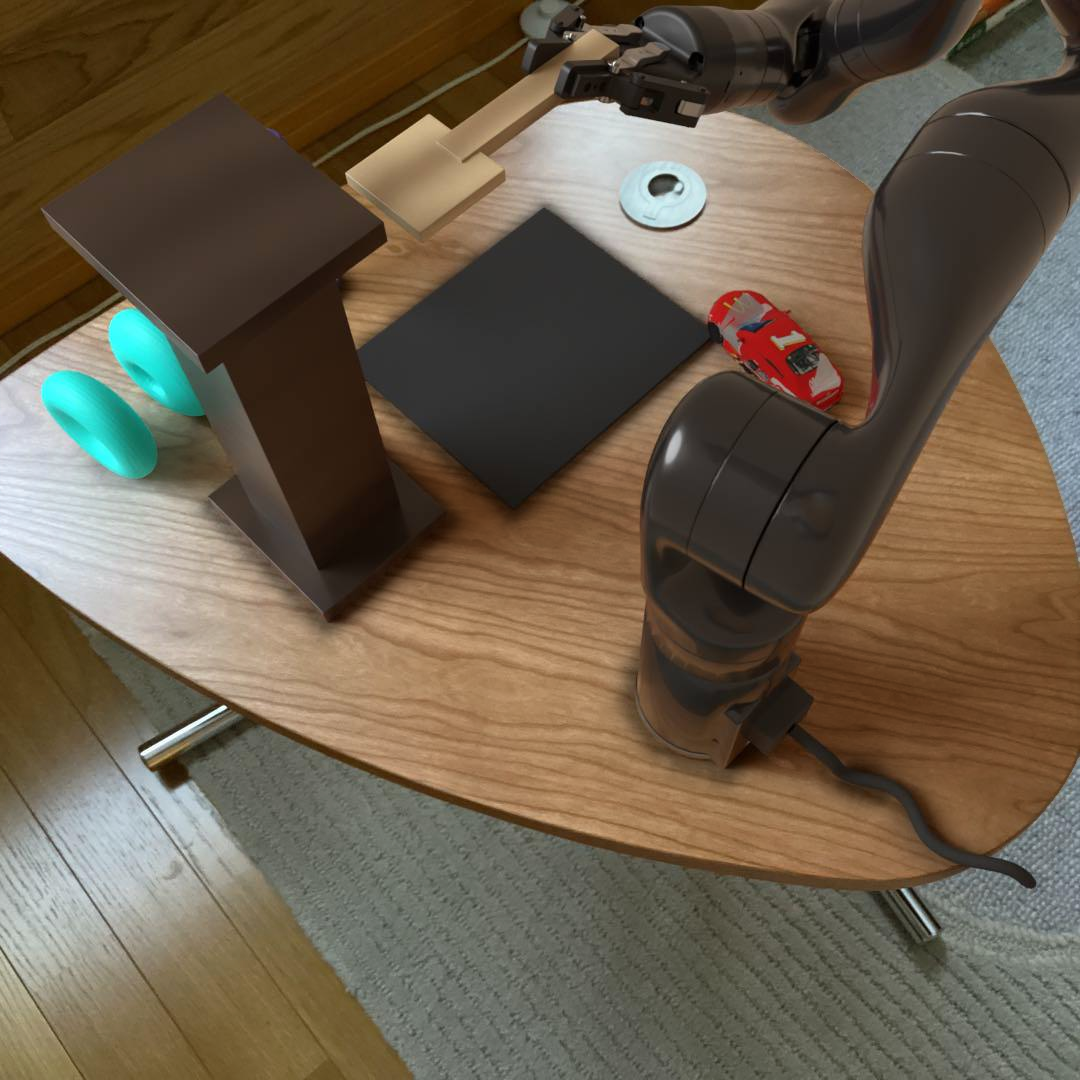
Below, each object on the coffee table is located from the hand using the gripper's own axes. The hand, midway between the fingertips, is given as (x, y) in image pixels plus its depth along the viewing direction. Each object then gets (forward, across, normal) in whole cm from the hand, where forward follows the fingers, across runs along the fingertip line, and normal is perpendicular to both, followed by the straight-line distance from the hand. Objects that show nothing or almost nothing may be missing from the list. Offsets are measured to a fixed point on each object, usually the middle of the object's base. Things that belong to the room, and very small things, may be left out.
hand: (546, 69), depth 73 cm
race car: (-21, +15, +18) cm, 32 cm away
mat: (-10, 0, +24) cm, 26 cm away
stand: (+8, 0, +35) cm, 36 cm away
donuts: (+13, -16, +37) cm, 43 cm away
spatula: (+3, 0, +4) cm, 5 cm away
